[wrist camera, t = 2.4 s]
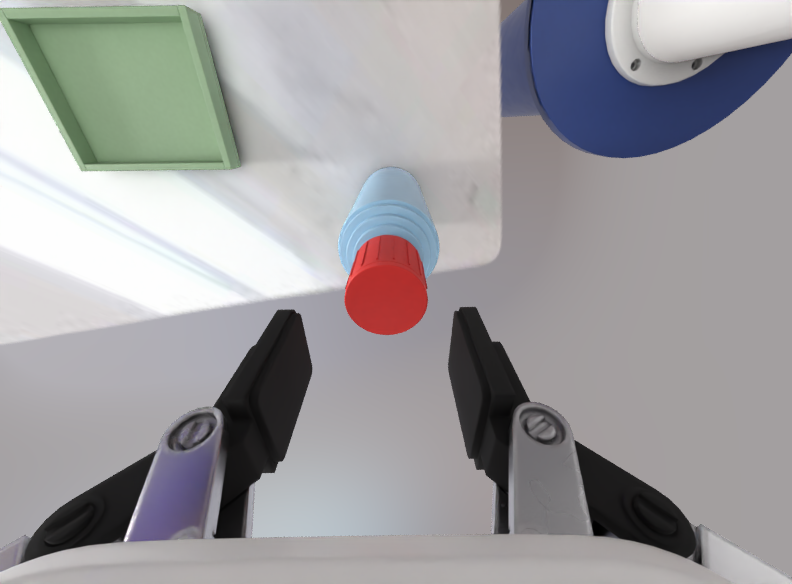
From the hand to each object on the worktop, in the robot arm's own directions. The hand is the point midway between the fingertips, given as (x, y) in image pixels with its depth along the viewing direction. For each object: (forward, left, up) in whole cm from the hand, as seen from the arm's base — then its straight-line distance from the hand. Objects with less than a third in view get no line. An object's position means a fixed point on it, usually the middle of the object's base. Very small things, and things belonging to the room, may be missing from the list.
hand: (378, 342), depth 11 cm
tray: (+22, -9, -22) cm, 33 cm away
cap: (0, 0, -6) cm, 6 cm away
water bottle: (0, 0, -22) cm, 23 cm away
